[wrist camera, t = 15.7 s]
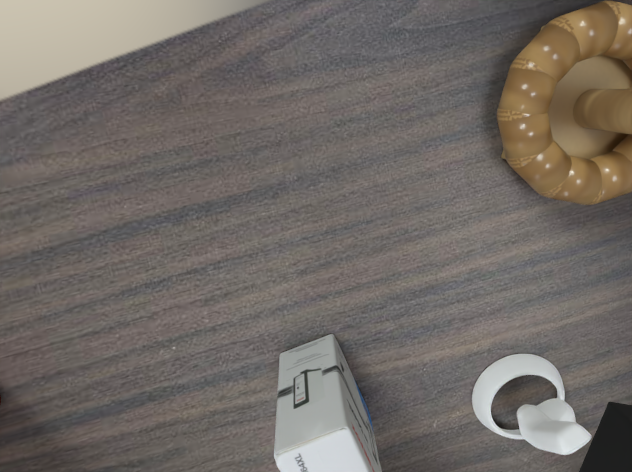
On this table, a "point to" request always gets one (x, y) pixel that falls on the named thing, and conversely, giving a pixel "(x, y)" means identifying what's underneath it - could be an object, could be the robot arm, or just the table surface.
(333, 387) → the ink box
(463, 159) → the table surface
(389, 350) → the table surface
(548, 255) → the table surface
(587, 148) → the stand
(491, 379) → the white vr controller
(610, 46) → the ring
